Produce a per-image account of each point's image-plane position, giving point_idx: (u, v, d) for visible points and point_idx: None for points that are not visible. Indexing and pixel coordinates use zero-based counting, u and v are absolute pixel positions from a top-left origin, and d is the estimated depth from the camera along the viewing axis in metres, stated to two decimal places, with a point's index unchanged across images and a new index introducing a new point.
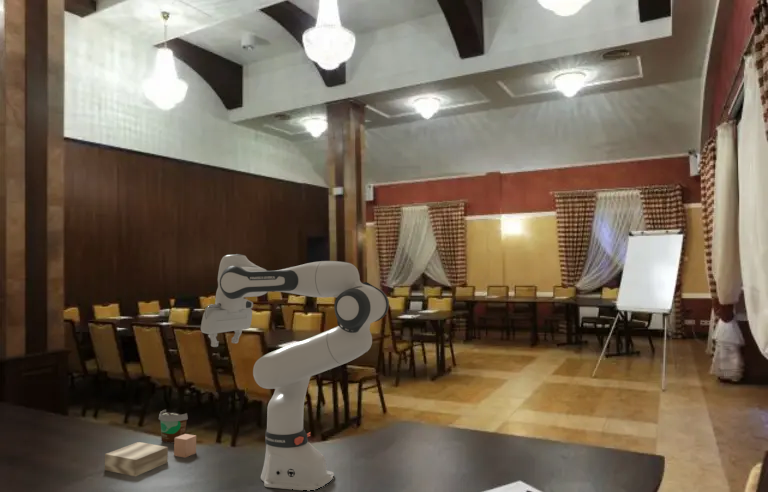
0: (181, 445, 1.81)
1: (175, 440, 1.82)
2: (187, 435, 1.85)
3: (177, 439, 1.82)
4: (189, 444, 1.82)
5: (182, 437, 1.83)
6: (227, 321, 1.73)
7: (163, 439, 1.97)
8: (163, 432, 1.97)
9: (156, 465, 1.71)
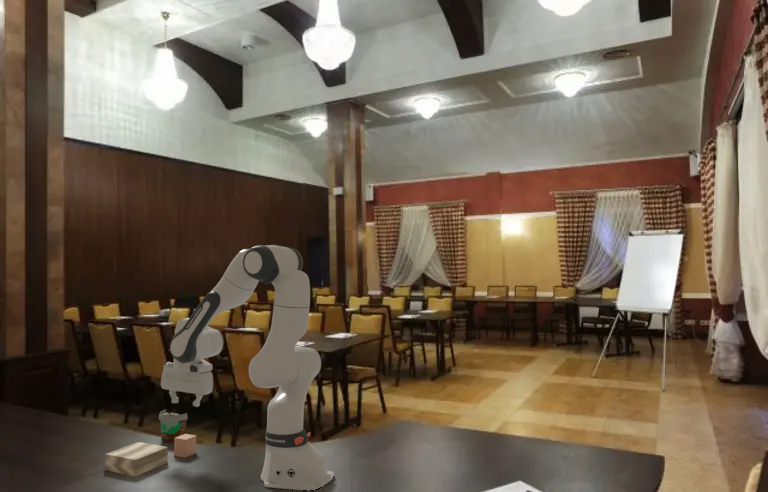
0: (181, 445, 1.81)
1: (175, 440, 1.82)
2: (187, 435, 1.85)
3: (177, 439, 1.82)
4: (189, 444, 1.82)
5: (182, 437, 1.83)
6: (178, 381, 1.84)
7: (163, 439, 1.97)
8: (163, 432, 1.97)
9: (156, 465, 1.71)
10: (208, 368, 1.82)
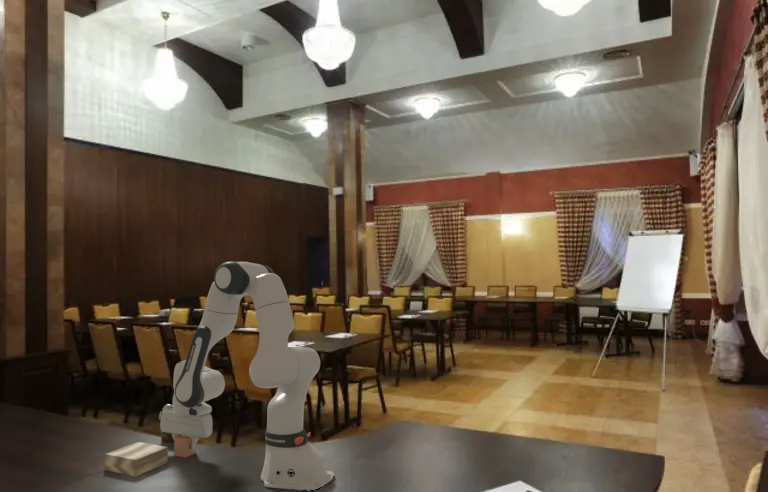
0: (181, 445, 1.81)
1: (175, 440, 1.82)
2: None
3: (177, 439, 1.82)
4: None
5: (182, 437, 1.83)
6: (177, 424, 1.83)
7: (163, 439, 1.97)
8: (163, 432, 1.97)
9: (156, 465, 1.71)
10: (207, 410, 1.82)
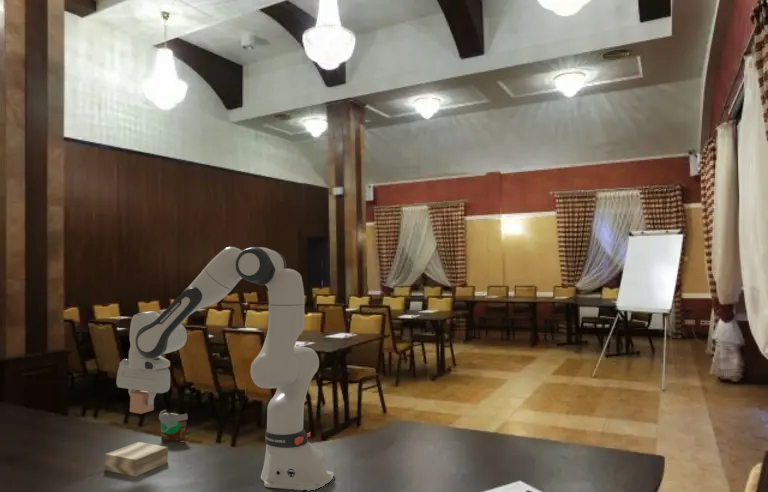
0: (137, 400, 1.72)
1: (131, 395, 1.73)
2: (144, 391, 1.76)
3: (133, 395, 1.72)
4: (145, 400, 1.72)
5: (138, 393, 1.73)
6: (133, 379, 1.73)
7: (163, 439, 1.97)
8: (163, 432, 1.97)
9: (156, 465, 1.71)
10: (165, 365, 1.72)
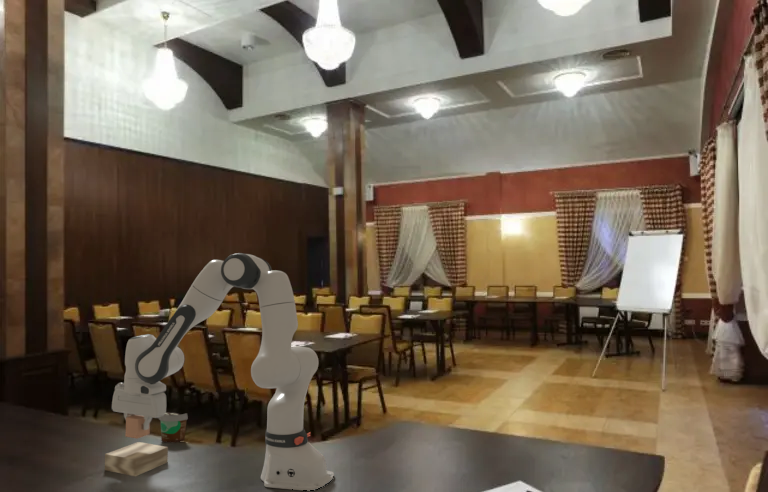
0: (133, 425, 1.70)
1: (127, 420, 1.71)
2: None
3: (128, 419, 1.71)
4: None
5: (134, 417, 1.72)
6: (129, 403, 1.72)
7: (163, 439, 1.97)
8: (163, 432, 1.97)
9: (156, 465, 1.71)
10: (161, 389, 1.70)
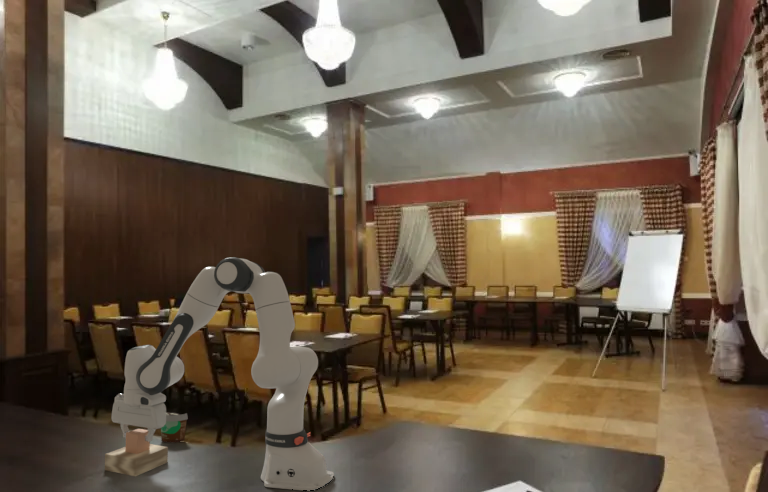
0: (133, 440, 1.70)
1: (126, 435, 1.71)
2: (140, 430, 1.74)
3: (128, 434, 1.71)
4: (141, 440, 1.71)
5: (134, 432, 1.72)
6: (129, 414, 1.72)
7: (163, 439, 1.97)
8: (163, 432, 1.97)
9: (156, 465, 1.71)
10: (161, 400, 1.70)
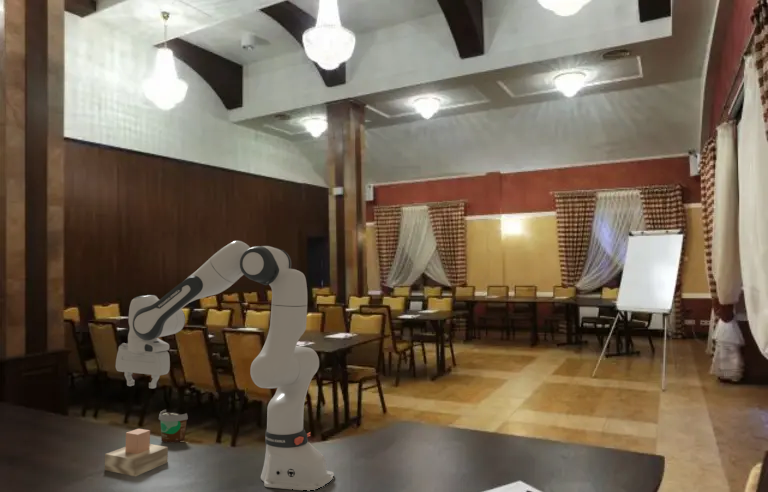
0: (133, 440, 1.70)
1: (126, 435, 1.71)
2: (140, 430, 1.74)
3: (128, 434, 1.71)
4: (141, 440, 1.71)
5: (134, 432, 1.72)
6: (133, 362, 1.75)
7: (163, 439, 1.97)
8: (163, 432, 1.97)
9: (156, 465, 1.71)
10: (164, 347, 1.74)
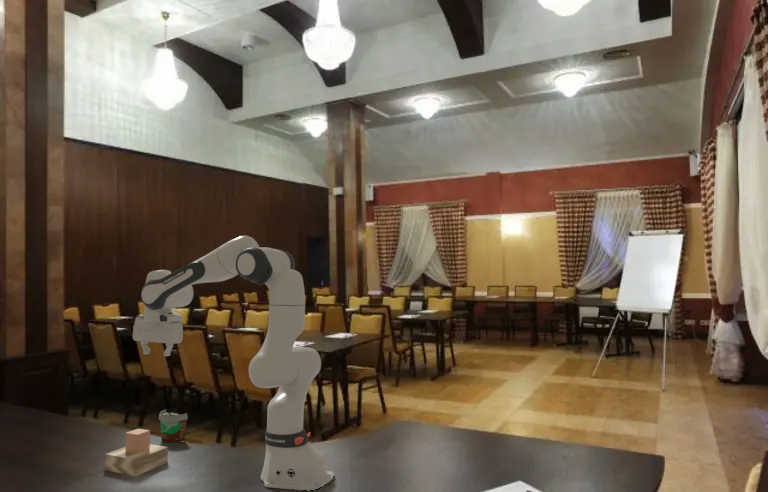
0: (133, 440, 1.70)
1: (126, 435, 1.71)
2: (140, 430, 1.74)
3: (128, 434, 1.71)
4: (141, 440, 1.71)
5: (134, 432, 1.72)
6: (149, 332, 1.89)
7: (163, 439, 1.97)
8: (163, 432, 1.97)
9: (156, 465, 1.71)
10: (178, 318, 1.87)
